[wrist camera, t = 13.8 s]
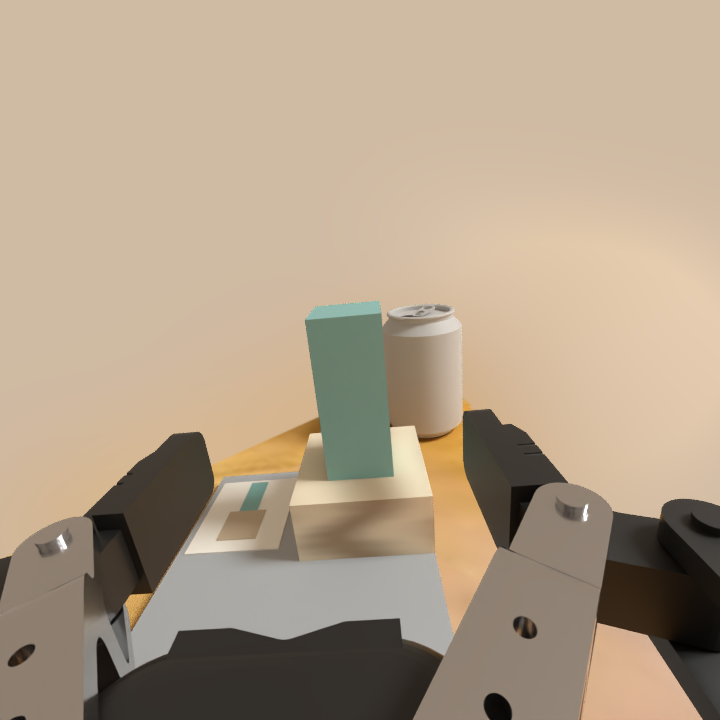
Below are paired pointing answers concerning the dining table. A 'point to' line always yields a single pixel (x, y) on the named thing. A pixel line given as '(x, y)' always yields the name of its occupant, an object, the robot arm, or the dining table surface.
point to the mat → (282, 578)
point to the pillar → (351, 389)
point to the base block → (364, 506)
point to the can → (424, 368)
